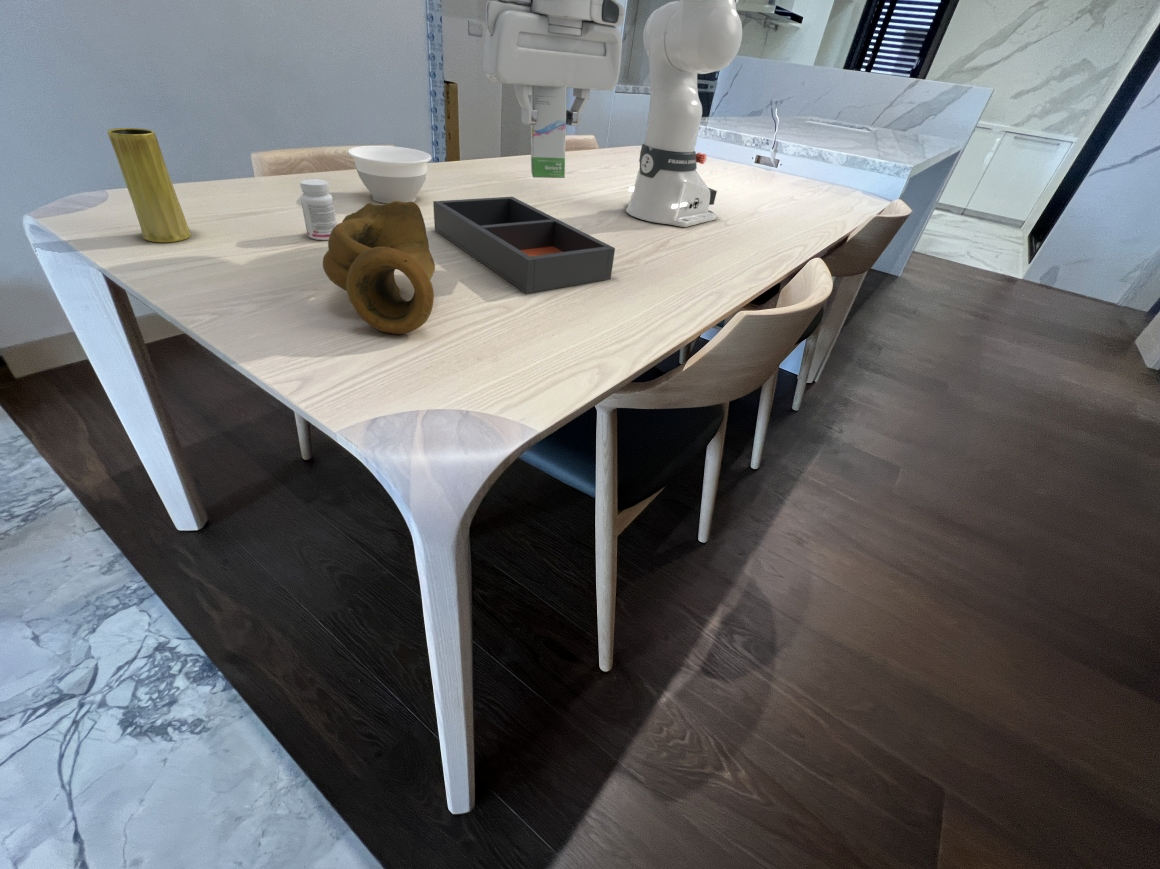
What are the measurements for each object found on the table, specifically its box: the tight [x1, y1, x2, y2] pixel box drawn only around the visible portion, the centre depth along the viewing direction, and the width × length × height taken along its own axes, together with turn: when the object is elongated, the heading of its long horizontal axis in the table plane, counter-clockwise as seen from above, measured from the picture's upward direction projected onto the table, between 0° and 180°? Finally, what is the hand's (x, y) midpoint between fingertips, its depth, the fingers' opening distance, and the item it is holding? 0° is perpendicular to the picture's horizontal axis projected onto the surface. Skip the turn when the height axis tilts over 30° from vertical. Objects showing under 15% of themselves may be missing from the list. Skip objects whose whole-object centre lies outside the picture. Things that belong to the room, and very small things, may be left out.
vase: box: [106, 127, 192, 243], centre depth 77 cm, size 6×6×14 cm
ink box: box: [530, 85, 567, 179], centre depth 78 cm, size 9×5×12 cm, turn 4°
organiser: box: [432, 196, 616, 295], centre depth 91 cm, size 16×32×5 cm, turn 37°
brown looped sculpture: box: [322, 201, 436, 335], centre depth 69 cm, size 18×13×22 cm
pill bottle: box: [299, 178, 338, 241], centre depth 86 cm, size 5×5×8 cm
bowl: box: [347, 145, 432, 204], centre depth 109 cm, size 16×16×8 cm
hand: (551, 124), depth 75 cm, fingers closed on ink box, 6 cm apart
